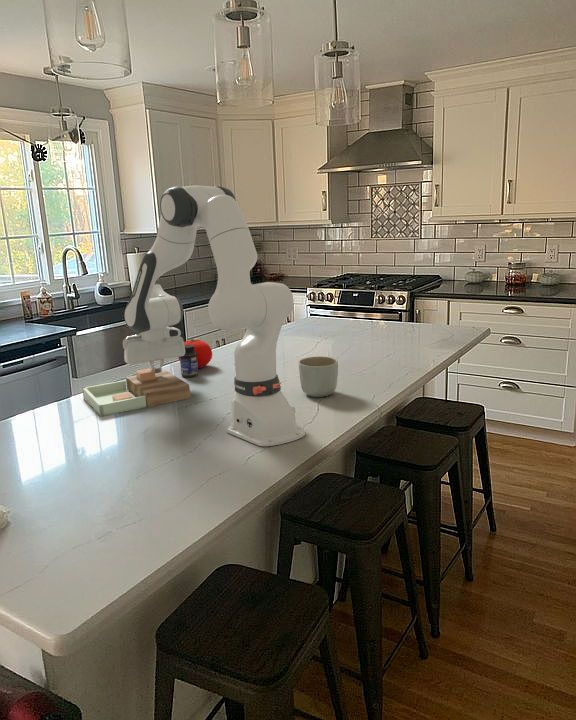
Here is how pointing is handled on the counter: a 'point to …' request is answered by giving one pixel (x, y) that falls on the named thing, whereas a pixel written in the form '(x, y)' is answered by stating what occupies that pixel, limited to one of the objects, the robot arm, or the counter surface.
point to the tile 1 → (121, 397)
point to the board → (159, 388)
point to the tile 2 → (145, 374)
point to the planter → (318, 375)
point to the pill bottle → (189, 362)
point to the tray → (103, 399)
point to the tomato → (201, 351)
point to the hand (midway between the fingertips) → (157, 372)
